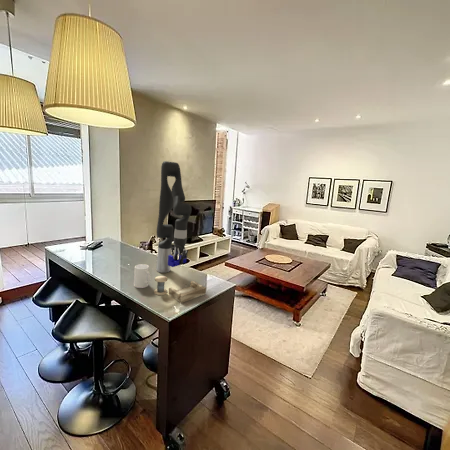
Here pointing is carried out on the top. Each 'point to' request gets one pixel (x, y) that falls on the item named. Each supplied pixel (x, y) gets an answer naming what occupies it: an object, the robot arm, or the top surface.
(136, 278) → the mug
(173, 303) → the top surface
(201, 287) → the notched board
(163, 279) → the bobbin
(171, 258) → the cable clip
